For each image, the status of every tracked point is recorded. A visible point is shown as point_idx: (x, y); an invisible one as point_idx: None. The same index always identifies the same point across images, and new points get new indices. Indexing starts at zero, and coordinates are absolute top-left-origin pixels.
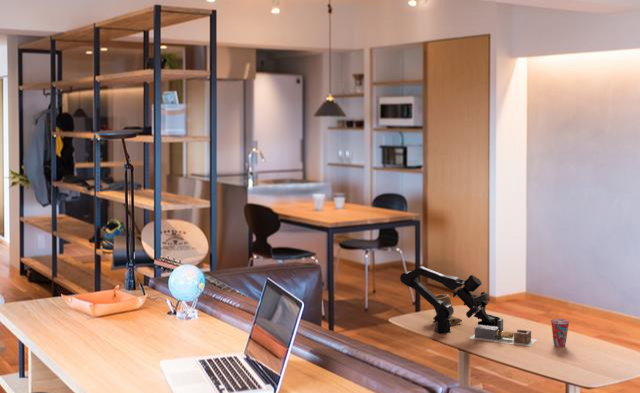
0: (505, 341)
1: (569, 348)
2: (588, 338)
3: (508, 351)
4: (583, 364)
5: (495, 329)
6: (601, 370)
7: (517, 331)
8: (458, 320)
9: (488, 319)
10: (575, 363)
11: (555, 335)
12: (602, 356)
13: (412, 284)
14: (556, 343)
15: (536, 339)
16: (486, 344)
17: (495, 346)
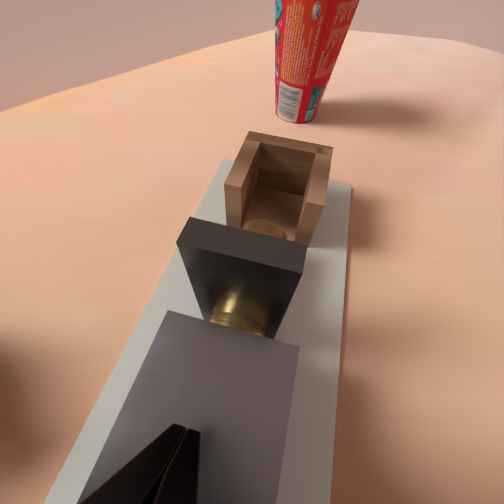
0: (305, 292)
1: None
2: (178, 59)
3: (497, 276)
4: (467, 87)
5: (271, 347)
6: (490, 70)
7: (241, 194)
8: None
9: (189, 461)
10: (473, 98)
11: (331, 68)
12: (361, 58)
13: None
14: (319, 103)
15: (223, 160)
16: (429, 442)
17: (442, 359)
